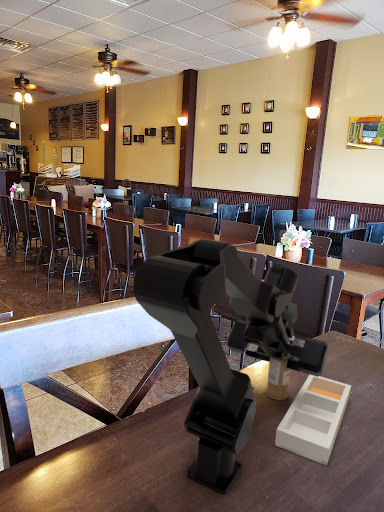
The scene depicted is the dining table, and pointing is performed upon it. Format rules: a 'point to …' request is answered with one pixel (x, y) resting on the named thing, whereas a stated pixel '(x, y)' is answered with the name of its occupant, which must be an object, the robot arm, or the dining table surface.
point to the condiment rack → (314, 419)
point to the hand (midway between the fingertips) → (282, 363)
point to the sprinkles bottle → (278, 378)
